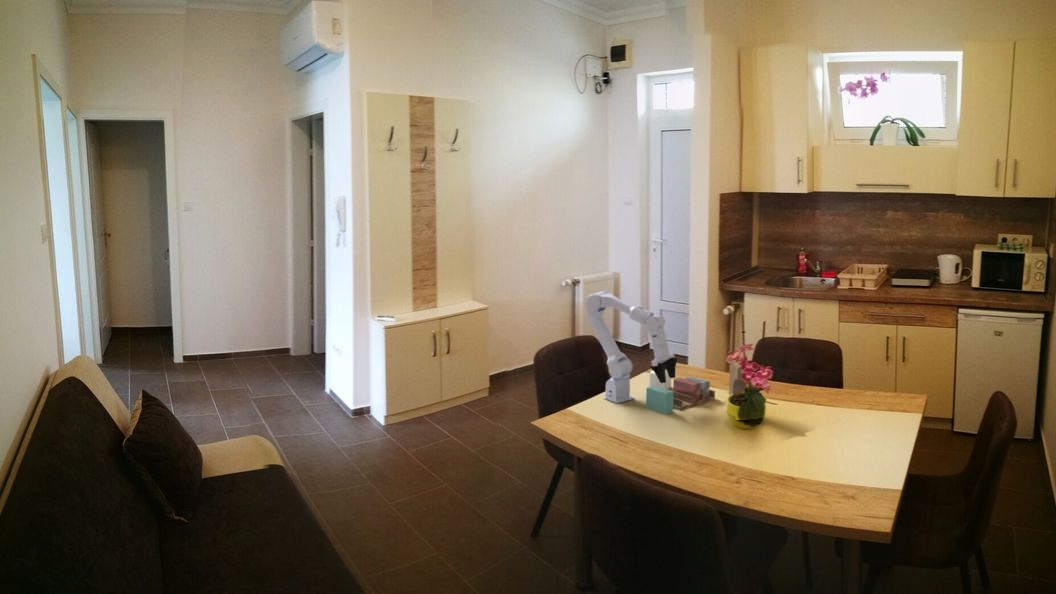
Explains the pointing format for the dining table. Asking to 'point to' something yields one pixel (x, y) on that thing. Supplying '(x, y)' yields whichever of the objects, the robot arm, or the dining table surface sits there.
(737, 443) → the dining table surface
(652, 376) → the medicine bottle
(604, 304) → the robot arm
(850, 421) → the dining table surface
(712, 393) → the book rack
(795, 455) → the dining table surface
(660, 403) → the teal book
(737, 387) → the decorative block
